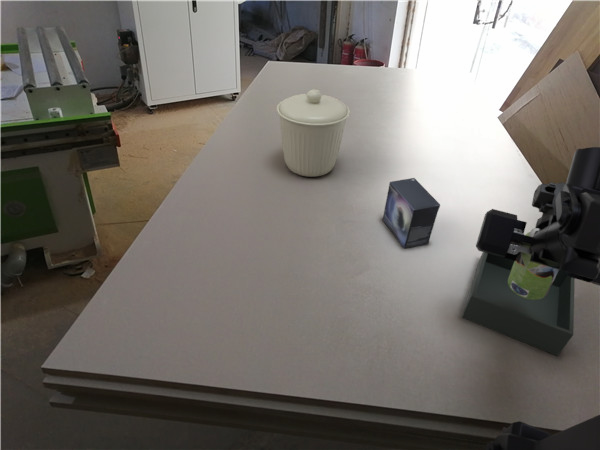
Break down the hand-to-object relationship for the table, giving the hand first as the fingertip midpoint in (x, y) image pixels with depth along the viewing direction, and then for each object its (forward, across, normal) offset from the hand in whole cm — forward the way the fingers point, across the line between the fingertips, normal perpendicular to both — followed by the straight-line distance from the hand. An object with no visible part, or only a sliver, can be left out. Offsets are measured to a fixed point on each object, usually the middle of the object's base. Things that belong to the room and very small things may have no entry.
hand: (534, 254), depth 64 cm
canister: (+31, +51, -12) cm, 61 cm away
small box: (+19, +22, 0) cm, 29 cm away
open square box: (+11, -2, +8) cm, 14 cm away
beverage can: (+4, 0, +6) cm, 7 cm away
